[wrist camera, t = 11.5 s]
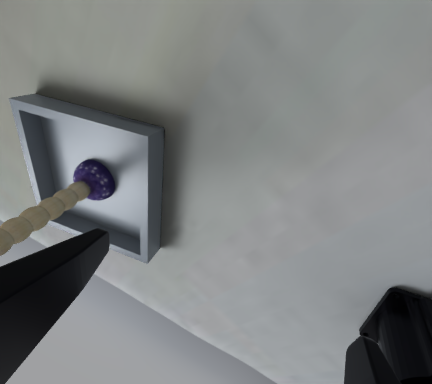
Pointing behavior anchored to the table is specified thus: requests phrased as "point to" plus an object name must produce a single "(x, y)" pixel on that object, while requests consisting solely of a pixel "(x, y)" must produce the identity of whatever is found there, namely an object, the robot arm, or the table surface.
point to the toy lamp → (59, 203)
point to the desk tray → (105, 154)
